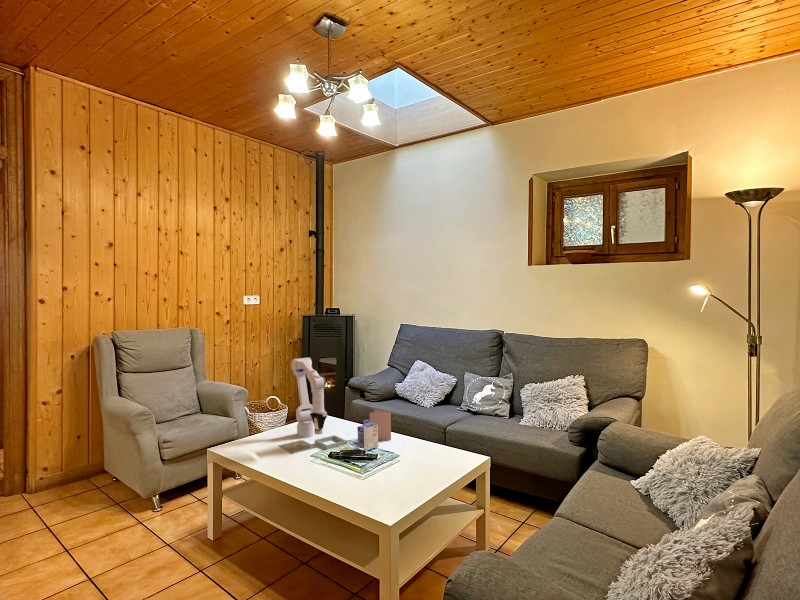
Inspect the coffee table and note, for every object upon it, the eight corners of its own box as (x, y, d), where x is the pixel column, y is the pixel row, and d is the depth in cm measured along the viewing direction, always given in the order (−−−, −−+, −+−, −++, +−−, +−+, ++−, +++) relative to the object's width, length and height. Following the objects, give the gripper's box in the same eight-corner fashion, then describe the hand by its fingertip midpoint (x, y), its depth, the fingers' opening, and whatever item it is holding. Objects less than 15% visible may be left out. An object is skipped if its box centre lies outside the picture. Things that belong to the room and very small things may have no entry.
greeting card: (391, 439, 246) (391, 412, 245) (383, 443, 240) (383, 415, 239) (375, 436, 252) (375, 409, 252) (366, 439, 246) (366, 412, 246)
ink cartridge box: (371, 445, 237) (371, 417, 237) (378, 447, 233) (378, 419, 233) (357, 450, 230) (356, 421, 230) (364, 452, 226) (364, 423, 226)
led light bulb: (313, 433, 234) (312, 417, 234) (320, 431, 236) (320, 416, 236) (316, 435, 231) (316, 419, 231) (323, 433, 233) (323, 418, 233)
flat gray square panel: (277, 448, 234) (277, 440, 234) (302, 442, 242) (302, 435, 242) (291, 456, 221) (291, 448, 221) (317, 450, 230) (316, 442, 230)
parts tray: (314, 446, 236) (314, 439, 236) (334, 441, 243) (334, 435, 243) (326, 452, 227) (326, 445, 227) (346, 447, 234) (346, 440, 234)
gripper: (304, 400, 237) (305, 426, 237) (317, 405, 225) (318, 432, 225) (316, 397, 241) (317, 423, 241) (330, 402, 230) (330, 429, 230)
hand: (318, 427), depth 234 cm, fingers closed on led light bulb, 4 cm apart
